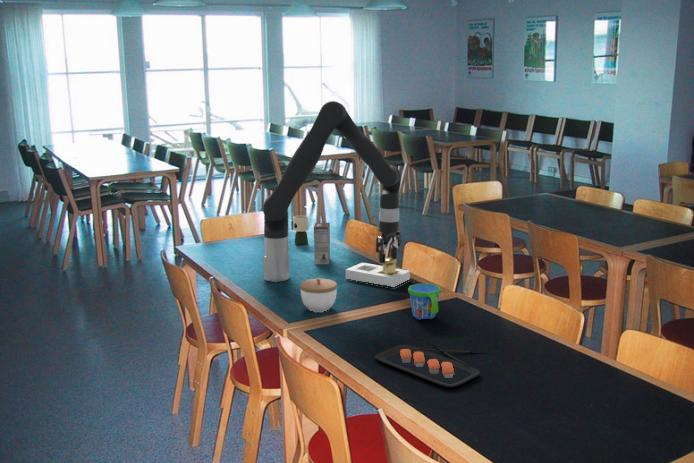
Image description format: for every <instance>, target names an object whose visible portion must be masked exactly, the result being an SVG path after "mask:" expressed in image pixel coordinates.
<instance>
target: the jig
mask: <svg viewBox="0 0 694 463" xmlns="http://www.w3.org/2000/svg"><path fill="white" fill-rule="evenodd" d="M347 279H351V280H350V281H352V280H356V281H355V282H357V281H362V282H369V283H374V284H380V285H387V286H391V287H395V286H397V285H399V284H401V283H403V282H405V281H407V280H409V279H410V280H411V271H410V270H408V269H401V268H396V274H394V275H386V274H383V265H378V264H372V263H368V262H360V263H358V264H356V265H353V266H350V267H348V268H346V269H345V280H347ZM362 282H361V283H362Z"/></svg>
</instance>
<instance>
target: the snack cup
mask: <svg viewBox="0 0 694 463" xmlns="http://www.w3.org/2000/svg"><path fill="white" fill-rule="evenodd" d="M407 292H408V293H409V297H410V306H411V313H412V317H414V318H415V319H417V320H421V319H430V320H432V319H434V318H435V317H436V316H437V314H438V313H439V298H440V296H439V295H440V294H441V292H442V289H441V287H440V286H439V285H436V284H432V283H415V284H412V285H410V286H408V289H407Z"/></svg>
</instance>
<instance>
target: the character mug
mask: <svg viewBox="0 0 694 463" xmlns="http://www.w3.org/2000/svg"><path fill="white" fill-rule="evenodd" d="M292 218H293V220H292V222H293V231H294V232H295V233H294V234H295V236H294V244H295V245H305V244H308V243H309V238H308V231H309V227H310V226H309V216H307V215H294V216H293V217H292Z"/></svg>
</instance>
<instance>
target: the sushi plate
mask: <svg viewBox="0 0 694 463" xmlns="http://www.w3.org/2000/svg"><path fill="white" fill-rule="evenodd" d="M439 349H440V350H437V349H435V348H433V349H432V348H431V349H429V348H420V347H417V346H414V345H410V344H400V345H396V346H393V347H391V348H388V349H385V350H384V351H381V352H378V353H377V354H375V356H374V358H375V359H376V360H377V361H379V362H381V363H383V364H386V365H388V366H390V367H393V368H396V369H398V370H401V371H403V372H406V373H407V374H411V375H413V376H416V377H418V378H422V379H424V380H426V381H429V382H431V383H434V384H436V385H439V386H442V387H446V388H456V387H458V386H461V385H463V384H465V383H467V382H469V381H471V380H472V379H475V378H476V377H479V376H480V374H481V371H480V370H479V369H477V368H475V367H473V366H470V365H469V364H468V363H465V362H464V361H461V359H459V358H456V357H455V356H453V355H451V354H449V353H459V352H470V351H471V350H454V349H453V350H452V349H451V350H449V349H441V348H439ZM411 351H413V352H414V353H413V359H414V365H415V366H416V367H424V364H425V357H424V355H426V356H427V357H428V356H429V357H430V358H433V359H429V360H428V361H427V364H428V367H429V372H430V373H431V374H439V368H440V364H439V361H441V362H442V363H441V367H442V374H443V376H444V378H453V375H455V373H454V368H453V366H455V367H458V368H460V369H462V370H466V371H468V372H469V373H471V375H470V376H468V377H466V378H464V379H462V380H460V381H458V382H455V383H452V384H447V383H443V382H440V381H438V380H435V379H432V378H430V377H427V376H425V375H422V374H420V373H418V372H415V371H412V370H410V369H408V368H405V367H403V366H400V365H398V364H395V363H392V362H390V361H388V360H386V359H387V357H389V356H392V355H396V354H397V353H400V356H401V359H402V363H411V357H412V354H411ZM431 351H432V352H431ZM441 351H442V352H443V354H444V353H445V354H444V355H446V354H447V355H446V356H448V357H450V358H448V357H445V356H442V355H440V354H436V353H434V352H441ZM442 352H441V353H442ZM448 352H449V353H448ZM451 358H452V359H451ZM438 360H439V361H438Z"/></svg>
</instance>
